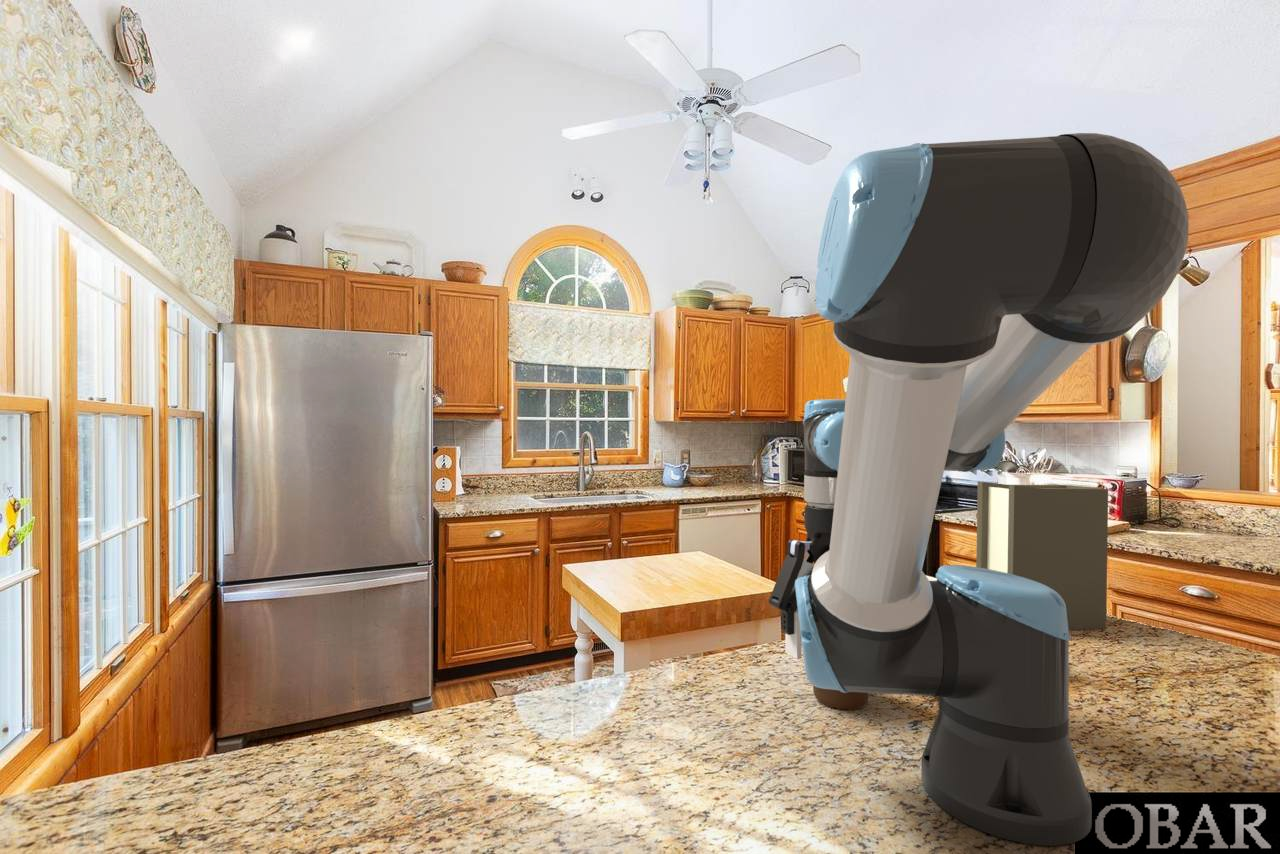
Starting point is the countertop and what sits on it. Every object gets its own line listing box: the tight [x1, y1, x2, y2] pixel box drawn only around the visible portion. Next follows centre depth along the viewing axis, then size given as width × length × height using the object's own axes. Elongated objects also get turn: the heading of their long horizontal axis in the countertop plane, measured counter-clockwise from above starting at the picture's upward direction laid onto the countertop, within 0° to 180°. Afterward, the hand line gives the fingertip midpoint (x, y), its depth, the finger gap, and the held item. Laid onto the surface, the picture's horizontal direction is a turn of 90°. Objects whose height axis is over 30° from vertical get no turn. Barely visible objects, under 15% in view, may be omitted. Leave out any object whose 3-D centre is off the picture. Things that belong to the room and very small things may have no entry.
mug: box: [812, 685, 870, 711], centre depth 88 cm, size 12×8×9 cm, turn 14°
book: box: [975, 480, 1109, 631], centre depth 118 cm, size 22×9×28 cm, turn 100°
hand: (831, 648), depth 88 cm, fingers open, 13 cm apart
